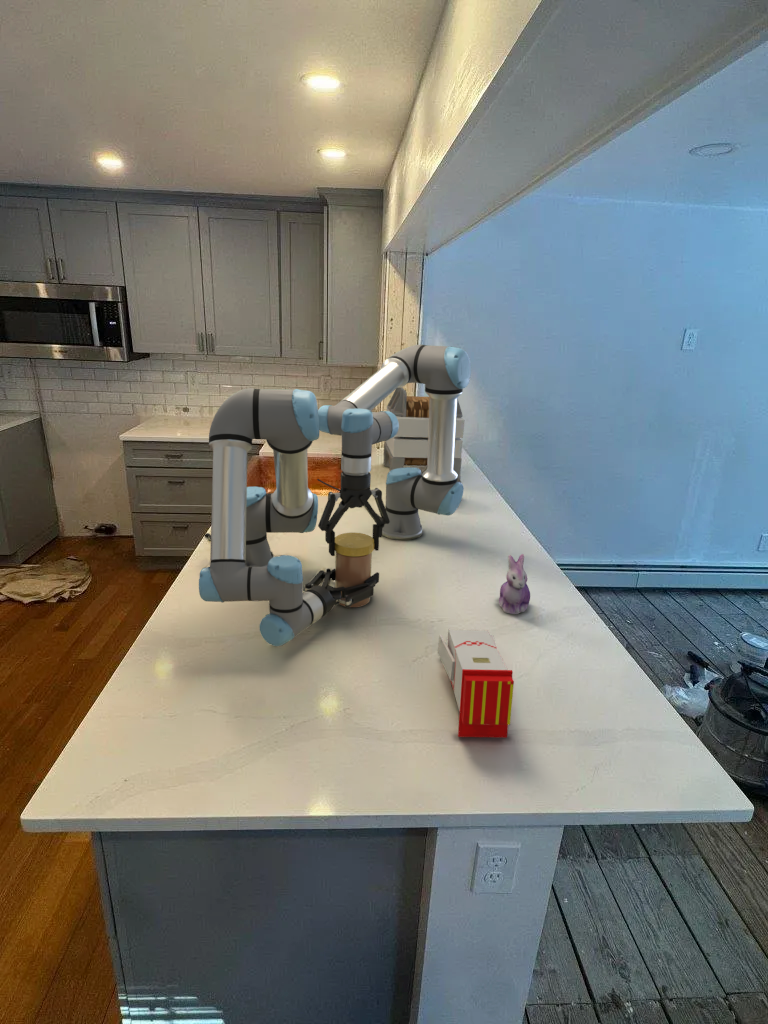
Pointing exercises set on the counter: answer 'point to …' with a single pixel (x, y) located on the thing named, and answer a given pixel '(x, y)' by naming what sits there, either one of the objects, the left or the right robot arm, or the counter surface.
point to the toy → (478, 682)
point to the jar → (352, 572)
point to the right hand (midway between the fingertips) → (353, 551)
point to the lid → (354, 544)
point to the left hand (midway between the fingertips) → (361, 572)
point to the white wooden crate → (415, 432)
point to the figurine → (515, 588)
